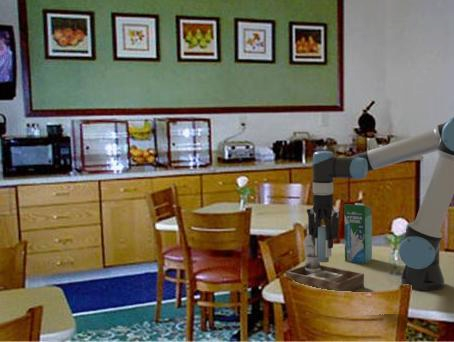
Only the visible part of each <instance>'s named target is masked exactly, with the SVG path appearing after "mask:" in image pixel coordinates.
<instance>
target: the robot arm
mask: <svg viewBox="0 0 454 342" xmlns="http://www.w3.org/2000/svg"><path fill="white" fill-rule="evenodd" d="M435 152H437V153H438V158H437V161H436V163H435V166H434V170H433V172H432V175H431V177H430V180H429V183H428V185H427V188H426V189H425V193H424V196H423V199H422V201H421V204H420V207H419V208H418V212H417V215H416V217H415V219H414V221H412V222H409V223H407V224H406V227H405V234H404V236H403V239H402V241H401V242H400V244H399V246H398V255H399V258H400V260H401V261H402V263H403V264H405V265H404V268H403V272H402V274H401V277H400V280H401V281H400V283H401V285H402V284H409V285H412V290H419V291H435V290H440V289H442V288H444V287H445V278H444V275H443V272H442V269H441V267H440V266H441V265H440V244H441V241H442V239H443V233H442V231H441V229H442V225H443V223H444V221H445V217H446V215H447V212H448V211H449V207H450V205H451V203H452V199H453V196H454V116H453V117H451V118H450V119H449V120H447V121H446V122H444V123H440V124H437V125H436V127H435V128H434V129H432V130H429V131H425V132H422V133H419V134H416V135H412V136H410V137H407V138H404V139H400V140H397V141H395V142H391V143H388V144H385V145H381V146H378V147H376V148H373V149H369V150H368V151H367V150H366V151H362V152H360V153H356V154H353V155H351V156H348V157H347V156H346V157H338V156H337V157H336V156H335V154H334V152H333V151H329V150H328V151H326V150H325V151H324V150H321V151H315V152H313V154H312V163H311V164H312V193H313V194H312V204H313V206H312V208H309V209H308V208H307V209H306V212H307V217H308V219H307V221H308V228H309V235H312V236H313V238H314V246H315V255H318V226H322V222H324V226H325V228H326V234H327V239H326V240H325V257H329V258H330V257H332V249H333V247H334V239H338V238H339V222H340V221H339V218H340V215H341V212H340V211H336V210H334V194H333V193H334V179H338V178H339V179H354V180H359V179H361V180H362V179H366V178H367V175H368V172H372V171H374V170H378V169H381V168H385V167H388V166H390V165H392V166H393V165H395V164H398V163H402V162H405V161H407V160H412V159H414V158H415V159H416V158H417V157H420V156H424V155H428V154H430V153H435Z"/></svg>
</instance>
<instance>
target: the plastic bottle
mask: <svg viewBox="0 0 454 342" xmlns="http://www.w3.org/2000/svg"><path fill="white" fill-rule="evenodd" d="M306 234H307V235H306V236H305V238H304V239H303V248H304V255H305V256H304V258H305V264H304V265H305V271H304V273H305V275H309V274H312V273H315V272H317V271H320V270H321V267H320V265H321V262H318V255H315V246H314V238H313V236H312V235H309V227H307V228H306Z"/></svg>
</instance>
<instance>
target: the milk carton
mask: <svg viewBox="0 0 454 342" xmlns="http://www.w3.org/2000/svg"><path fill="white" fill-rule="evenodd" d="M343 205H344V206H343V207H344V262H348V261H350V262H351V263H357V264H366V263H367V262H369V261H370V260H372V258H373V233H372V232H373V228H372V227H373V223H372V222H373V216H372V215H373V214H372V213H373V211H372V210H373V207H372V206H368V205H365V203H361V202H355V203H354V204H343Z"/></svg>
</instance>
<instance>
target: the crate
mask: <svg viewBox="0 0 454 342" xmlns="http://www.w3.org/2000/svg"><path fill="white" fill-rule="evenodd" d="M320 267H321V270H320V271H317V272H315V273H312V274H309V275H305V273H304V271H305V264H304V265H302V266H299V267H296V268H292V269H289V270H287V271H285V277H286V276H288V277H290V278H292V279H293V280H294V281H295V282H298V283H300V284H304V285H308V286H312V287H316V288H321V289H327V290H335V291H353V292H355V291H358V290H361V289H362V288H365V273H362V272H357V271H351V270H346V269H341V268H337V267H333V266H332V267H331V266H327V265H323V264H322V265H321V264H320Z"/></svg>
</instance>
